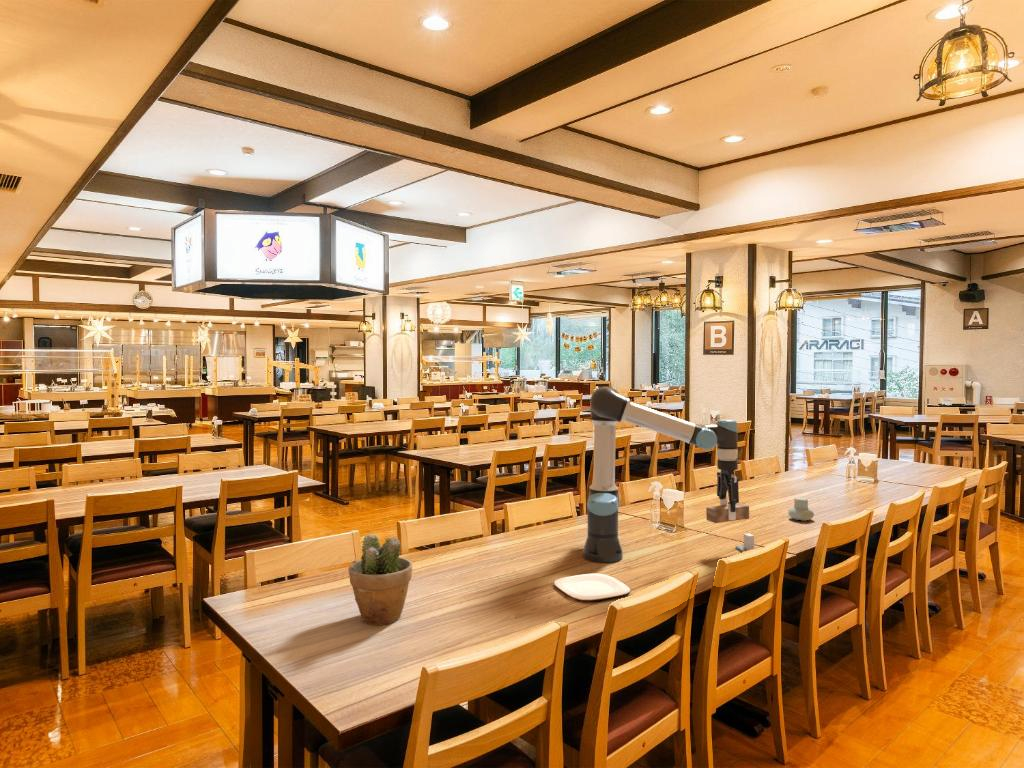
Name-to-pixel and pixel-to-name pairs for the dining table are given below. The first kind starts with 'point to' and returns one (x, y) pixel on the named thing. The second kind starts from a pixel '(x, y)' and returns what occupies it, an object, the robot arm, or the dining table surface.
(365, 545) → the potted plant
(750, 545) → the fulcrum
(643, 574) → the dining table surface
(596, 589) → the plate
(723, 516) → the beam
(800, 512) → the air freshener
